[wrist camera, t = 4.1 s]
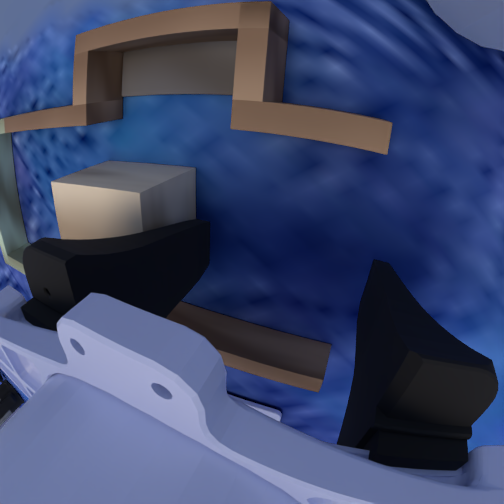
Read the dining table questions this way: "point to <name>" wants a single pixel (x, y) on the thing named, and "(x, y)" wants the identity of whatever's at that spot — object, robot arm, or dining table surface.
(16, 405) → the milk frother
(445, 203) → the dining table surface
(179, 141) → the dining table surface
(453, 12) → the white tapered cup
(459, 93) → the dining table surface
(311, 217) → the dining table surface
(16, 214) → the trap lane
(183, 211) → the oak block
